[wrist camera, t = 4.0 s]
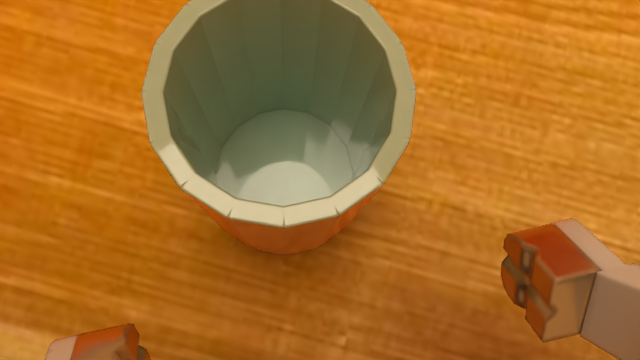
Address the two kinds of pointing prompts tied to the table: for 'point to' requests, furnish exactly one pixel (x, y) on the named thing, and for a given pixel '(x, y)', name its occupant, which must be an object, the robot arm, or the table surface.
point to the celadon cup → (279, 114)
